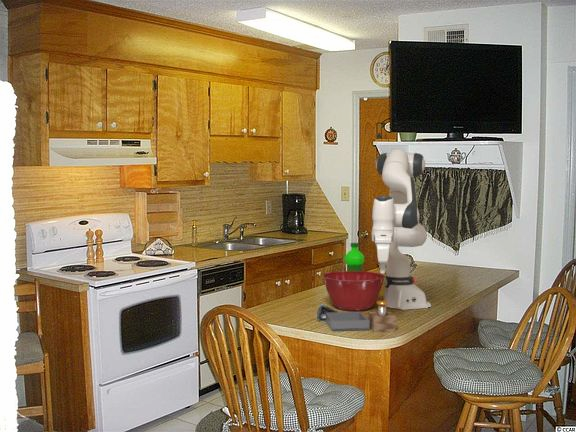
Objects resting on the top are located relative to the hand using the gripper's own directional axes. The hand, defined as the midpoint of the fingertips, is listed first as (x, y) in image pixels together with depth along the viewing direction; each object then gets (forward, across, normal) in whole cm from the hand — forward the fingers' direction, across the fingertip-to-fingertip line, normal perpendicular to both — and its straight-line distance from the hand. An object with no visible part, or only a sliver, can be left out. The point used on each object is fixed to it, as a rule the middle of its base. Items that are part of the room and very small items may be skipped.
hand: (382, 271), depth 252 cm
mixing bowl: (+24, -36, -13) cm, 45 cm away
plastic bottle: (+23, -78, -14) cm, 83 cm away
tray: (+23, -2, -14) cm, 27 cm away
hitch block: (+23, 0, 0) cm, 23 cm away
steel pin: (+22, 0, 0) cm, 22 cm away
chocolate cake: (+24, -13, -22) cm, 35 cm away
